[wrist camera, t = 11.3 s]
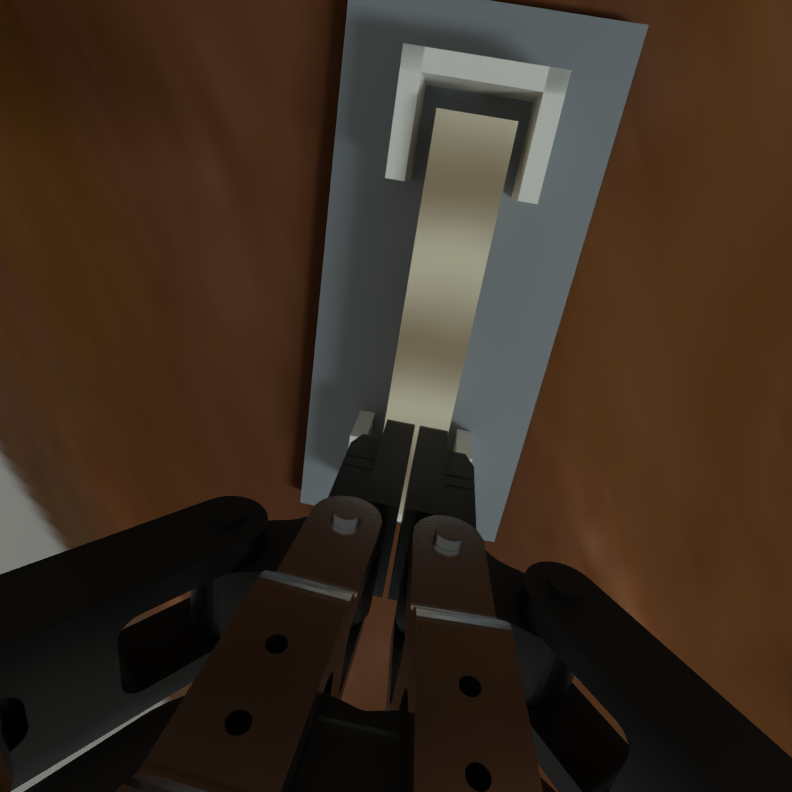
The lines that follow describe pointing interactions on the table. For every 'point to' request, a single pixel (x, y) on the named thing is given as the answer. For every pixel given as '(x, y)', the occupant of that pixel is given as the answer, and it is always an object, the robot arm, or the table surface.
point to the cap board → (515, 225)
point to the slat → (447, 266)
